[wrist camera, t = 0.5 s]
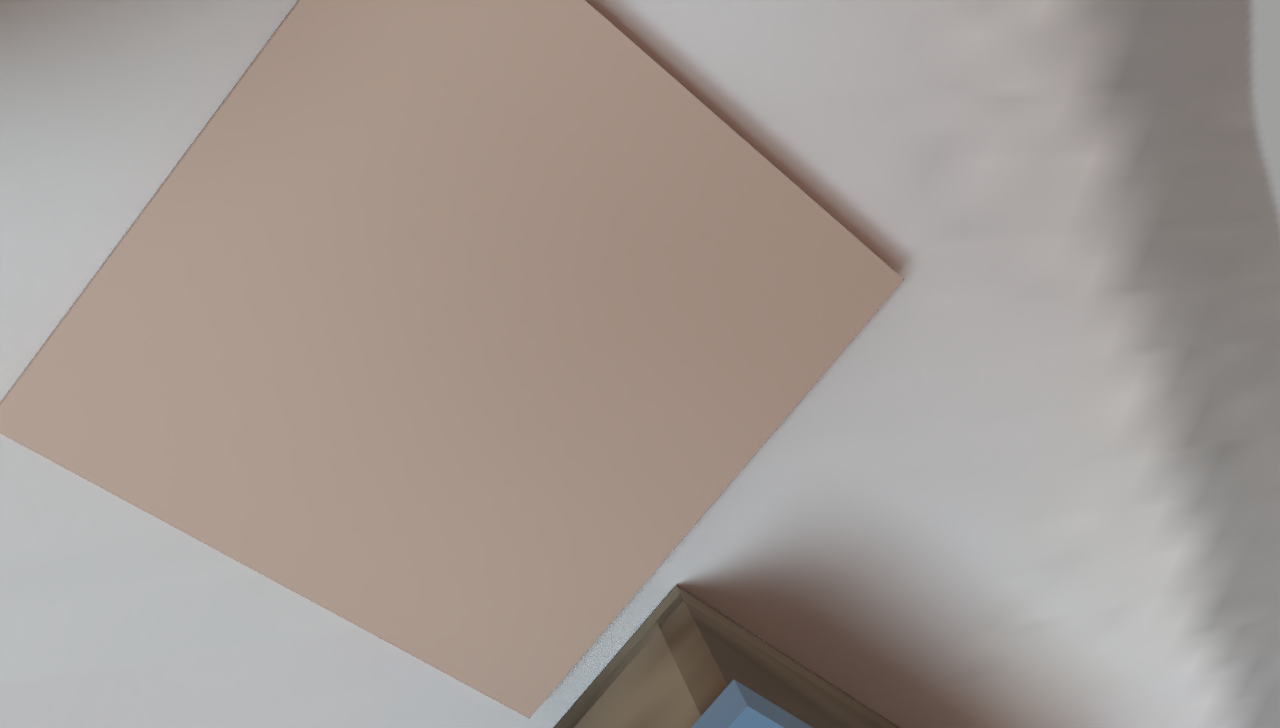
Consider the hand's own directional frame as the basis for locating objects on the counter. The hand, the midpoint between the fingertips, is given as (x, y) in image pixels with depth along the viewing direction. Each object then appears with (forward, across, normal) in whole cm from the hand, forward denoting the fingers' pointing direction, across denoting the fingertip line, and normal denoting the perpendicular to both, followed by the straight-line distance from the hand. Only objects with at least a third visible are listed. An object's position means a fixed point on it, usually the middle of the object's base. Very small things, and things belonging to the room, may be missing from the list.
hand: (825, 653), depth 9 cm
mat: (+14, +2, +5) cm, 15 cm away
